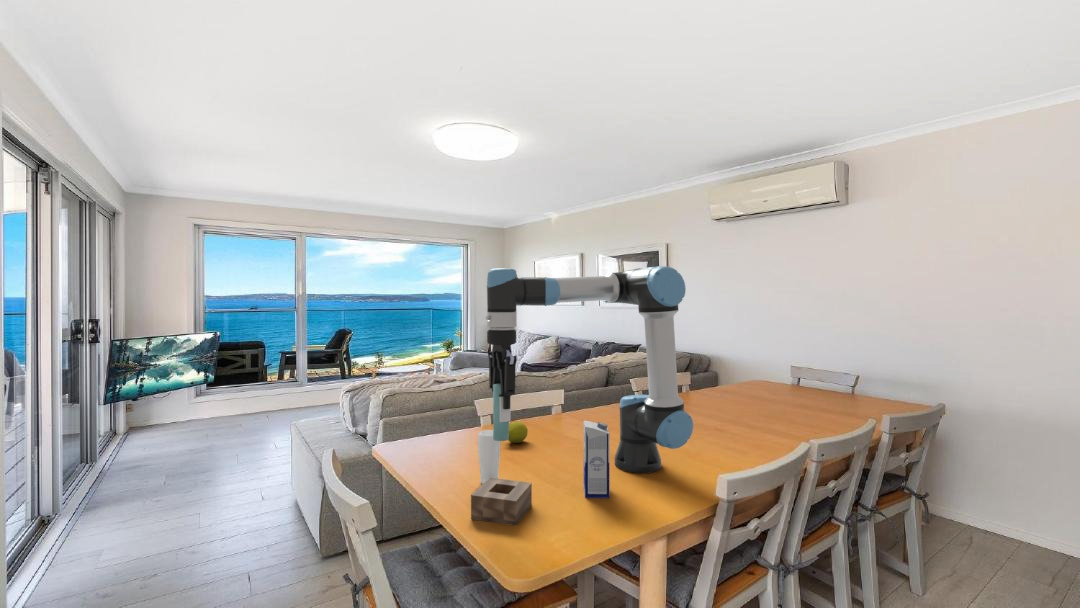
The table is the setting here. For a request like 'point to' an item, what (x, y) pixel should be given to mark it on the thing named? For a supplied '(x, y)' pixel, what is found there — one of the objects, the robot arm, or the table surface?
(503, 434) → the dowel
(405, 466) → the table surface
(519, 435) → the lemon
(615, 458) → the robot arm
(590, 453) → the milk carton
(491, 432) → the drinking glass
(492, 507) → the bore block
